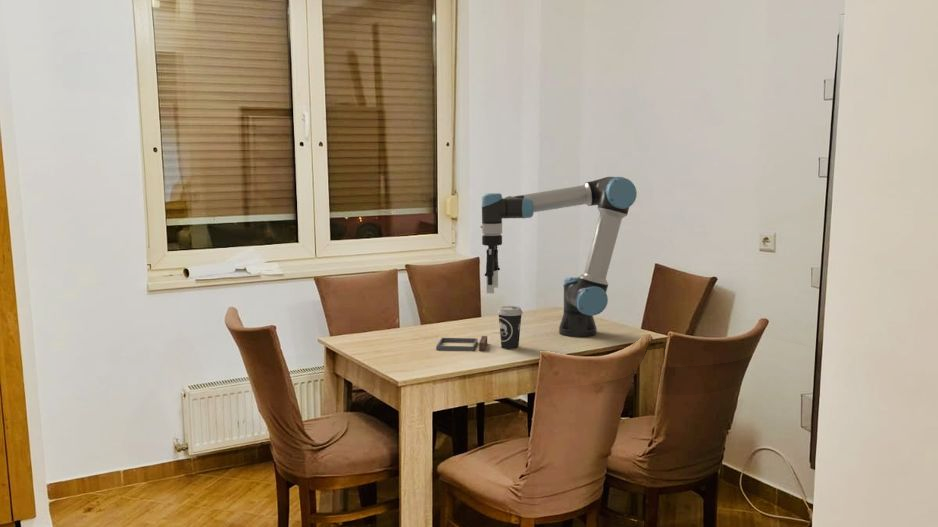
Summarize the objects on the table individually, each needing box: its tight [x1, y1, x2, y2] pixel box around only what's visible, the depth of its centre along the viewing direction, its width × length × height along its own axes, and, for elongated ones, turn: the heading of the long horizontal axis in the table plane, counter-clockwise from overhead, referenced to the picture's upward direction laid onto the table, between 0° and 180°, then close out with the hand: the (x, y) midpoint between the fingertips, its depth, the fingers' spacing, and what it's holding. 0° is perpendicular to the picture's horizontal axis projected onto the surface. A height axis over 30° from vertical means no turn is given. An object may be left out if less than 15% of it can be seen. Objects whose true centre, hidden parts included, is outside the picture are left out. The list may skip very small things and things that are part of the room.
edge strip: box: [478, 335, 488, 352], centre depth 293 cm, size 2×12×3 cm, turn 173°
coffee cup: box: [497, 305, 523, 350], centre depth 292 cm, size 10×10×15 cm
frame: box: [435, 337, 479, 352], centre depth 295 cm, size 14×14×2 cm
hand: (492, 290), depth 296 cm, fingers open, 13 cm apart
